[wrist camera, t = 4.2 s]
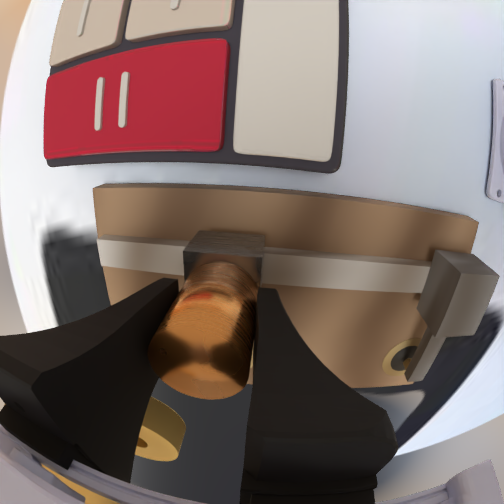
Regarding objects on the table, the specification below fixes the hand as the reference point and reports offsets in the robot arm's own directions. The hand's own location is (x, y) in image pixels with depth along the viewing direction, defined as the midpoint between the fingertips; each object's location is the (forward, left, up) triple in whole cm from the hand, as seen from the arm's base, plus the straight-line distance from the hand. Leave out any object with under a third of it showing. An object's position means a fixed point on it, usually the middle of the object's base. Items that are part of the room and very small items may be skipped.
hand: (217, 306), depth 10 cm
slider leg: (0, +3, -4) cm, 5 cm away
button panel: (+3, -10, -6) cm, 13 cm away
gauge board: (-3, +3, -5) cm, 7 cm away
